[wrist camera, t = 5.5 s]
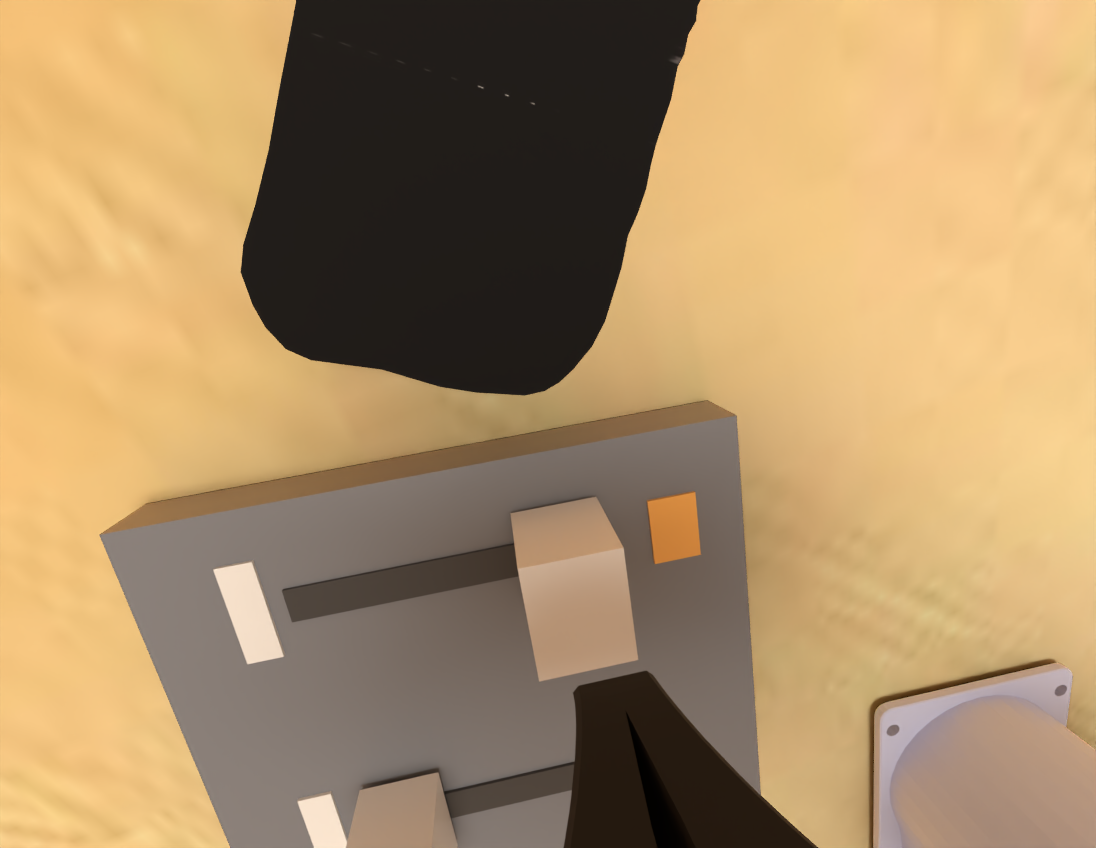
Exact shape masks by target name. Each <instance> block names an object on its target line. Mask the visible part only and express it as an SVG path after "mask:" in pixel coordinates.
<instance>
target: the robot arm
mask: <svg viewBox="0 0 1096 848" xmlns="http://www.w3.org/2000/svg"><path fill="white" fill-rule="evenodd" d="M1072 678H1073V676H1072V672H1071V670H1070V669H1068V668H1067V667H1065V666H1064V665H1062V664H1060V663H1052V664H1048V665H1043V666H1039V667H1035V668H1031V669H1026V670H1022V671H1018V672H1013V673H1009V674H1005V675H1000V676H996V677H992V678H988V679H983V680H979V681H975V682H970V683H966V684H962V685H958V686H953V687H949V688H945V689H940V690H936V691H932V692H928V693H923V694H919V695H915V696H910V697H906V698H902V699H898V700H893V701H889V702H885V703H883V704H881V705H880V706H878V708H877V709H876V711H875V715H874V827H873V848H1096V750H1095V749H1094V748H1093V747H1091V746H1090V745H1089V744H1087V743H1086V742H1085V741H1084V740H1082V739H1081V738H1080V737H1078V736H1077V735H1076V734H1074V733H1073V732H1072V731H1070V730H1069V729H1068V728H1066V726H1067V718H1068V710H1069V702H1070V694H1071V686H1072ZM573 696H574V701H575V712H576V745H575V762H574V773H573V783H572V793H571V802H570V810H569V817H568V823H567V829H566V836H565V842H564V848H818V847H817V846H816V845H814V844H813V843H812V842H811V841H810V840H809V839H808V838H807V837H805V836H804V835H803V834H802V833H801V832H800V831H799V830H798V829H796V828H795V827H794V826H793V825H792V824H791V823H790V822H789V821H788V820H786V819H785V818H784V817H783V816H782V815H781V814H780V813H779V812H778V811H777V810H776V809H775V808H774V807H773V806H772V805H771V804H769V803H768V802H767V801H766V800H765V799H764V798H763V797H762V796H761V795H760V794H759V793H758V792H757V791H756V790H755V789H754V788H753V787H752V786H751V785H750V784H749V783H748V782H747V781H746V780H745V779H744V778H743V777H742V776H741V775H740V774H739V773H738V772H737V771H736V770H735V769H734V768H733V767H732V766H731V765H730V764H729V763H728V762H727V761H726V760H725V759H724V758H723V757H722V756H721V755H720V754H719V752H718V751H717V750H716V749H715V748H714V747H713V746H712V745H711V744H710V743H709V742H708V741H707V740H706V739H705V738H704V736H703V735H702V734H701V733H700V732H699V731H698V730H697V729H696V728H695V726H694V725H693V724H692V723H691V722H690V721H689V719H688V718H687V717H686V716H685V715H684V714H683V713H682V711H681V710H680V709H679V708H678V707H677V705H676V704H675V703H674V702H673V700H672V699H671V698H670V697H669V695H668V694H667V693H666V692H665V690H664V689H663V688H662V686H661V685H660V684H659V682H658V681H657V680H656V678H655V677H654V675H653V674H651V673H649V672H648V671H642V672H637V673H633V674H628V675H624V676H619V677H615V678H610V679H606V680H602V681H597V682H593V683H588V684H584V685H579V686H578V687H577V688H576V689H575V691H574V692H573Z"/></svg>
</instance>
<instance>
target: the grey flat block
mask: <svg viewBox="0 0 1096 848" xmlns="http://www.w3.org/2000/svg"><path fill="white" fill-rule="evenodd" d="M592 497H597V499H598V501H599V503H600V505H601V507H602V509H603V510H604V512H605V514H606V516H607V518H608V520H609V522H610V523H611V525H612V527H613V529H614V531H615V533H616V535H617V536H618V538H619V540H620V542H621V544H622V546H623V548H624V555H625V563H626V570H627V578H628V586H629V593H630V601H631V608H632V616H633V624H634V631H635V639H636V646H637V654H638V660H636V661H631V662H627V663H622V664H617V665H613V666H608V667H604V668H599V669H595V670H590V671H585V672H581V673H576V674H572V675H567V676H563V677H558V678H554V679H549V680H544V681H540V682H539V678H538V673H537V668H536V662H535V657H534V652H533V647H532V642H531V636H530V631H529V626H528V621H527V616H526V610H525V605H524V600H523V595H522V590H521V584H520V579H519V574H518V569H517V561H516V553H515V545H514V537H513V530H512V522H511V514H510V513H515V512H520V511H525V510H530V509H535V508H540V507H545V506H551V505H556V504H561V503H566V502H571V501H576V500H581V499H586V498H592ZM100 537H101V540H102V542H103V544H104V547H105V549H106V552H107V554H108V556H109V559H110V561H111V564H112V566H113V568H114V571H115V573H116V576H117V578H118V580H119V583H120V585H121V587H122V590H123V592H124V595H125V597H126V599H127V602H128V604H129V607H130V609H131V611H132V614H133V616H134V618H135V621H136V623H137V626H138V628H139V630H140V633H141V635H142V638H143V640H144V642H145V645H146V647H147V650H148V652H149V654H150V657H151V659H152V661H153V664H154V666H155V669H156V671H157V673H158V676H159V678H160V681H161V683H162V685H163V688H164V690H165V692H166V695H167V697H168V700H169V702H170V704H171V707H172V709H173V712H174V714H175V716H176V719H177V721H178V724H179V726H180V728H181V731H182V733H183V735H184V738H185V740H186V743H187V745H188V747H189V750H190V752H191V755H192V757H193V759H194V762H195V764H196V767H197V769H198V771H199V774H200V776H201V778H202V781H203V783H204V786H205V788H206V790H207V793H208V795H209V798H210V800H211V802H212V805H213V807H214V809H215V812H216V814H217V817H218V819H219V821H220V824H221V826H222V829H223V831H224V833H225V836H226V838H227V841H228V843H229V845H230V848H346V845H347V841H348V837H349V833H350V829H351V824H352V820H353V816H354V812H355V808H356V803H357V799H358V795H359V791H360V790H363V789H367V788H371V787H376V786H380V785H384V784H389V783H393V782H398V781H402V780H406V779H411V778H415V777H419V776H424V775H428V774H433V773H437V772H438V773H439V777H440V781H441V784H442V788H443V792H444V796H445V799H446V803H447V807H448V810H449V814H450V818H451V822H452V825H453V829H454V833H455V837H456V840H457V844H458V848H564V842H565V836H566V829H567V823H568V817H569V810H570V802H571V793H572V783H573V773H574V762H575V745H576V712H575V701H574V696H573V692H574V691H575V689H576V688H577V687H578V686H579V685H584V684H588V683H593V682H597V681H602V680H606V679H610V678H615V677H619V676H624V675H628V674H633V673H637V672H642V671H648V672H649V673H651V674H653V675H654V677H655V678H656V680H657V681H658V682H659V684H660V685H661V686H662V688H663V689H664V690H665V692H666V693H667V694H668V695H669V697H670V698H671V699H672V700H673V702H674V703H675V704H676V705H677V707H678V708H679V709H680V710H681V711H682V713H683V714H684V715H685V716H686V717H687V718H688V719H689V721H690V722H691V723H692V724H693V725H694V726H695V728H696V729H697V730H698V731H699V732H700V733H701V734H702V735H703V736H704V738H705V739H706V740H707V741H708V742H709V743H710V744H711V745H712V746H713V747H714V748H715V749H716V750H717V751H718V752H719V754H720V755H721V756H722V757H723V758H724V759H725V760H726V761H727V762H728V763H729V764H730V765H731V766H732V767H733V768H734V769H735V770H736V771H737V772H738V773H739V774H740V775H741V776H742V777H743V778H744V779H745V780H746V781H747V782H748V783H749V784H750V785H751V786H752V787H753V788H754V789H755V790H756V791H757V792H758V793H759V794H760V795H761V791H760V775H759V760H758V744H757V728H756V713H755V697H754V681H753V666H752V650H751V635H750V619H749V603H748V588H747V572H746V556H745V541H744V525H743V510H742V494H741V478H740V463H739V447H738V432H737V416H736V415H735V414H733V413H731V412H729V411H727V410H725V409H723V408H721V407H719V406H717V405H715V404H713V403H712V402H710V401H708V400H707V401H702V402H697V403H691V404H686V405H680V406H675V407H669V408H664V409H659V410H653V411H648V412H642V413H637V414H631V415H626V416H621V417H615V418H610V419H604V420H599V421H593V422H588V423H583V424H577V425H572V426H566V427H561V428H555V429H550V430H545V431H539V432H534V433H528V434H523V435H517V436H512V437H507V438H501V439H496V440H490V441H485V442H479V443H474V444H469V445H463V446H458V447H452V448H447V449H441V450H436V451H431V452H425V453H420V454H414V455H409V456H403V457H398V458H393V459H387V460H382V461H376V462H371V463H365V464H360V465H355V466H349V467H344V468H338V469H333V470H327V471H322V472H317V473H311V474H306V475H300V476H295V477H289V478H284V479H279V480H273V481H268V482H262V483H257V484H251V485H246V486H241V487H235V488H230V489H224V490H219V491H213V492H208V493H203V494H197V495H192V496H186V497H181V498H175V499H170V500H165V501H159V502H154V503H148V504H145V505H144V506H142V507H141V508H139V509H138V510H136V511H135V512H133V513H131V514H130V515H128V516H127V517H125V518H124V519H122V520H121V521H119V522H118V523H116V524H115V525H113V526H112V527H110V528H109V529H107V530H106V531H104V532H103V533H101V534H100Z"/></svg>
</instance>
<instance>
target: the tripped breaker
mask: <svg viewBox="0 0 1096 848" xmlns="http://www.w3.org/2000/svg"><path fill="white" fill-rule="evenodd" d="M510 514H511V522H512V530H513V537H514V545H515V553H516V561H517V569H518V574H519V579H520V584H521V590H522V595H523V600H524V605H525V610H526V616H527V621H528V626H529V631H530V636H531V642H532V647H533V652H534V657H535V662H536V668H537V673H538V678H539V682H540V681H544V680H549V679H554V678H558V677H563V676H567V675H572V674H576V673H581V672H585V671H590V670H595V669H599V668H604V667H608V666H613V665H617V664H622V663H627V662H631V661H636V660H638V654H637V646H636V639H635V631H634V624H633V616H632V608H631V601H630V593H629V586H628V578H627V570H626V563H625V555H624V548H623V546H622V544H621V542H620V540H619V538H618V536H617V535H616V533H615V531H614V529H613V527H612V525H611V523H610V522H609V520H608V518H607V516H606V514H605V512H604V510H603V509H602V507H601V505H600V503H599V501H598V499H597V497H592V498H586V499H581V500H576V501H571V502H566V503H561V504H556V505H551V506H545V507H540V508H535V509H530V510H525V511H520V512H515V513H510Z"/></svg>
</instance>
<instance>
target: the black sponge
mask: <svg viewBox="0 0 1096 848" xmlns="http://www.w3.org/2000/svg"><path fill="white" fill-rule="evenodd" d="M699 2H700V0H296V5H295V10H294V16H293V21H292V26H291V32H290V37H289V42H288V47H287V53H286V58H285V63H284V68H283V73H282V78H281V84H280V89H279V95H278V100H277V106H276V111H275V117H274V123H273V129H272V134H271V140H270V146H269V151H268V155H267V159H266V164H265V168H264V172H263V176H262V180H261V184H260V188H259V192H258V196H257V200H256V205H255V208H254V211H253V214H252V218H251V221H250V224H249V228H248V231H247V234H246V238H245V241H244V244H243V255H242V266H241V274H242V277H243V279H244V282H245V285H246V288H247V290H248V293H249V296H250V299H251V301H252V304H253V306H254V308H255V310H256V311H257V313H258V315H259V317H260V319H261V320H262V322H263V324H264V326H265V327H266V328H267V329H268V330H269V331H270V333H271V334H272V335H273V336H274V337H275V338H276V339H277V340H278V341H279V342H280V343H281V344H282V345H283V346H284V348H285V349H287V350H289V351H292V352H294V353H296V354H299V355H301V356H303V357H305V358H308V359H310V360H315V361H322V362H330V363H337V364H345V365H353V366H360V367H368V368H375V369H382V370H386V371H389V372H392V373H396V374H399V375H403V376H406V377H409V378H413V379H416V380H419V381H423V382H426V383H429V384H433V385H436V386H440V387H445V388H452V389H458V390H464V391H471V392H479V393H495V394H511V395H528V394H533V393H537V392H542V391H545V390H547V389H548V388H550V387H552V386H554V385H555V384H557V383H559V382H560V381H561V380H562V379H563V378H564V377H565V376H566V375H567V374H569V373H570V372H571V371H572V370H573V369H574V368H575V366H576V365H577V364H578V363H579V361H580V360H581V359H582V358H583V357H584V355H585V354H586V353H587V352H588V350H589V349H590V348H591V347H592V345H593V343H594V341H595V339H596V337H597V335H598V334H599V332H600V330H601V328H602V326H603V324H604V322H605V319H606V316H607V313H608V310H609V306H610V303H611V300H612V297H613V293H614V290H615V287H616V284H617V280H618V277H619V274H620V270H621V267H622V262H623V257H624V252H625V247H626V242H627V237H628V234H629V232H630V229H631V227H632V225H633V223H634V220H635V218H636V216H637V213H638V211H639V208H640V205H641V202H642V199H643V196H644V193H645V190H646V186H647V181H648V176H649V171H650V166H651V162H652V158H653V154H654V150H655V146H656V142H657V139H658V136H659V133H660V130H661V127H662V124H663V121H664V118H665V116H666V113H667V110H668V107H669V104H670V101H671V96H672V92H673V87H674V82H675V77H676V72H677V67H678V65H679V63H680V61H681V59H682V57H683V55H684V52H685V47H686V42H687V38H688V34H689V32H690V30H691V29H692V27H693V25H694V23H695V22H696V15H697V6H698V4H699Z"/></svg>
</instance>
